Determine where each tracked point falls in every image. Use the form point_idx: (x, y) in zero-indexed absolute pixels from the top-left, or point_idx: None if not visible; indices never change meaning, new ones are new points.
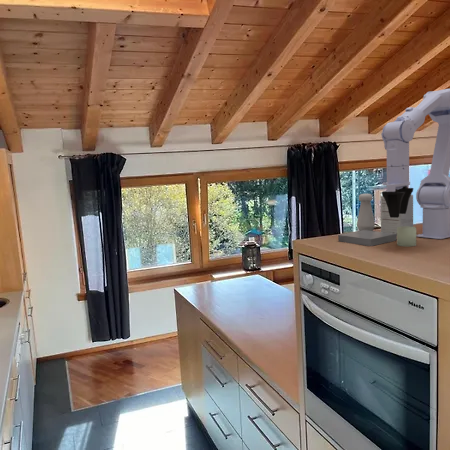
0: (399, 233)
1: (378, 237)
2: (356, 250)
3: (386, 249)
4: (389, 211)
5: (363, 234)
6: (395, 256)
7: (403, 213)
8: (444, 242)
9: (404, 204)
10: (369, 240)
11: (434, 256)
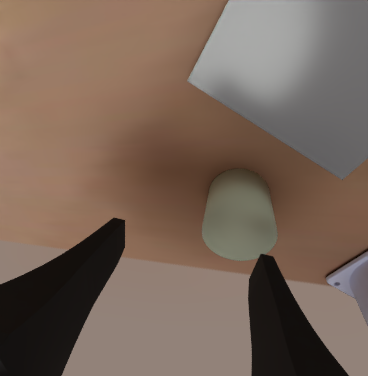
0: (214, 199)
1: (239, 111)
2: (96, 29)
3: (149, 139)
4: (91, 236)
5: (345, 11)
6: (65, 167)
7: (252, 275)
8: None
9: (256, 327)
10: (191, 74)
11: None
